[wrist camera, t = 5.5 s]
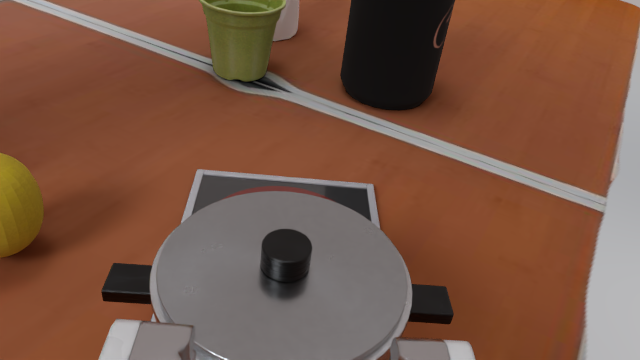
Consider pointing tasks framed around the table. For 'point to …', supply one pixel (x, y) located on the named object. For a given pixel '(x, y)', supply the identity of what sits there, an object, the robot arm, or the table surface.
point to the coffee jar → (394, 50)
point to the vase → (287, 21)
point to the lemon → (18, 206)
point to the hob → (230, 184)
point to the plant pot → (241, 36)
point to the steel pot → (281, 281)
